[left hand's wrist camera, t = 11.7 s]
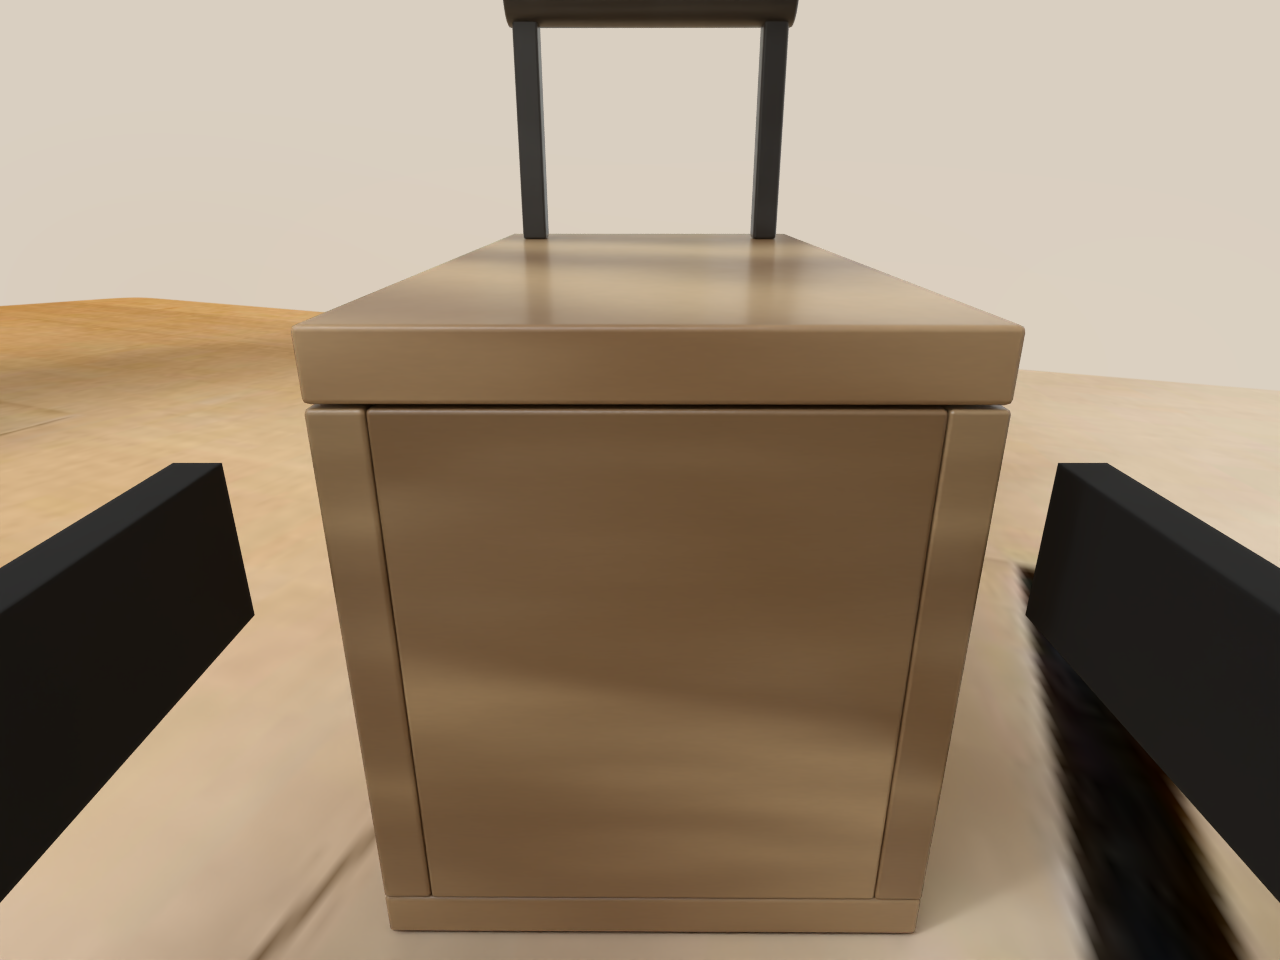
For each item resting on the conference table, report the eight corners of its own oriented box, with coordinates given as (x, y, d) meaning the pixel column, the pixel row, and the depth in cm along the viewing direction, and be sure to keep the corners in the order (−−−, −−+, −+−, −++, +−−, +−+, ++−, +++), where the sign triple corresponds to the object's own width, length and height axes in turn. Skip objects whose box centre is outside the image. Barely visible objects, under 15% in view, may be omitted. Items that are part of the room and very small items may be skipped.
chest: (527, 525, 29) (511, 268, 26) (768, 525, 29) (786, 269, 26) (389, 931, 13) (300, 409, 10) (915, 934, 13) (1013, 411, 10)
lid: (514, 265, 26) (497, -20, 23) (783, 265, 26) (802, -21, 23) (300, 405, 10) (146, -499, 7) (1014, 407, 10) (1184, -502, 7)
